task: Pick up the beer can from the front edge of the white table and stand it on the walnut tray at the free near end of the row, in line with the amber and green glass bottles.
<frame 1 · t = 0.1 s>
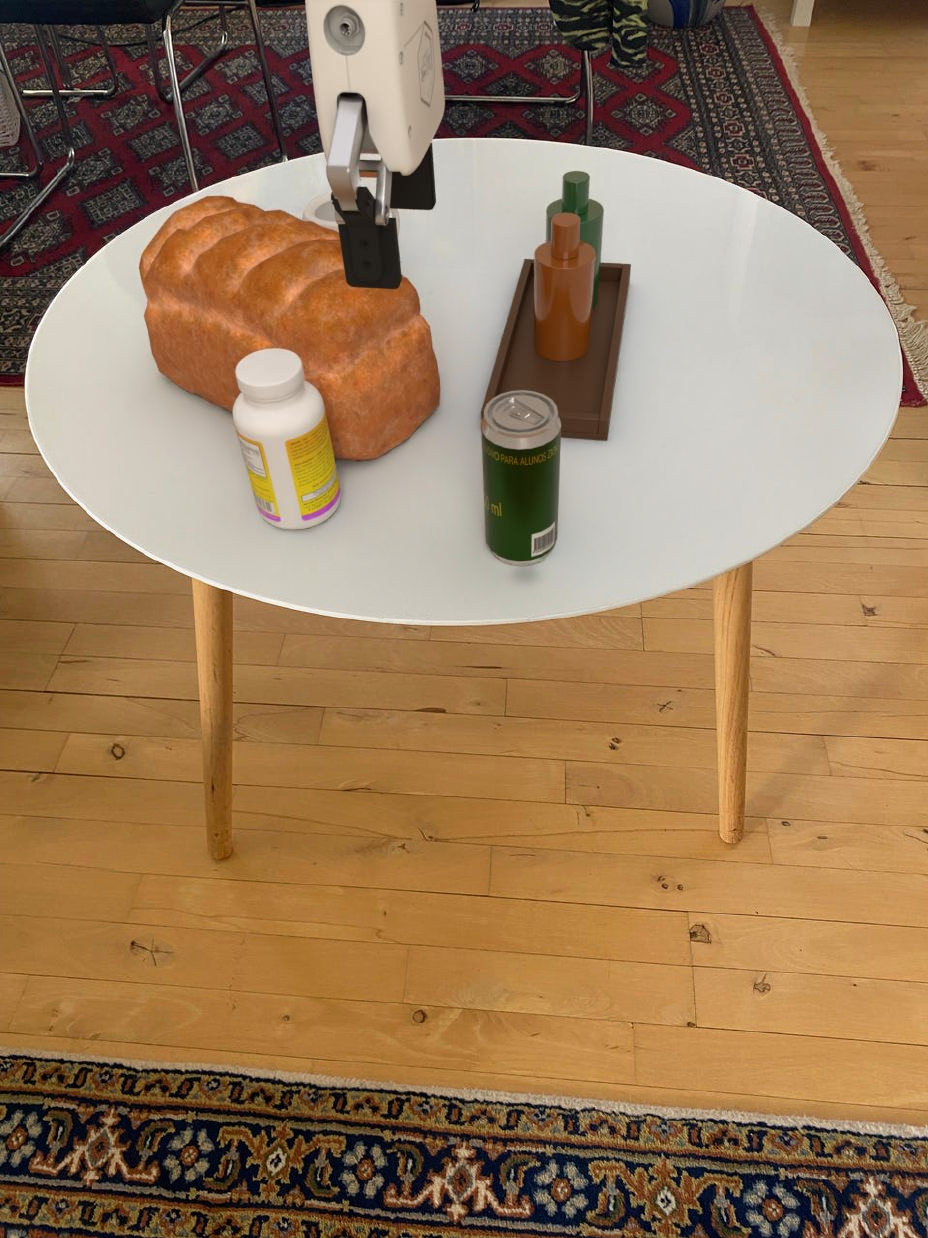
hand: (393, 244, 60), 22 cm above the table, tool pointing down, fingers open, 9 cm apart
tray: (561, 351, 91), on the table
amber bottle: (561, 345, 91), resting on tray
bread: (298, 390, 89), on the table
green bottle: (571, 299, 96), resting on tray
beer can: (521, 545, 74), on the table
supplement bottle: (300, 507, 78), on the table
mug: (364, 275, 103), on the table
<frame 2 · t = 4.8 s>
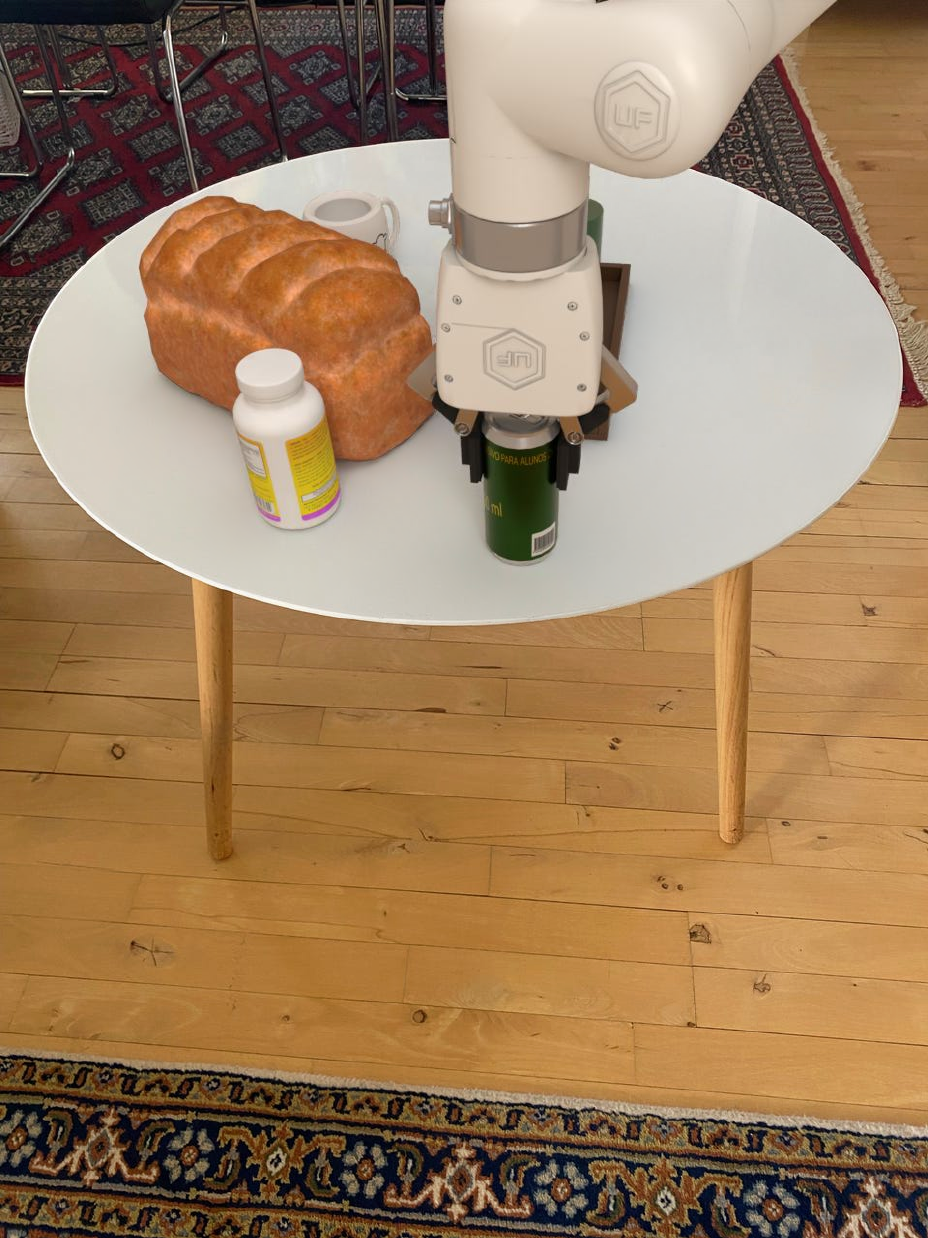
hand: (521, 472, 69), 7 cm above the table, tool pointing down, fingers closed on beer can, 5 cm apart
beer can: (521, 545, 74), on the table, touching gripper
everything else where it was.
when the fingers open (7 cm above the table, at t = 12.4 s): beer can stays where it is, resting on tray.
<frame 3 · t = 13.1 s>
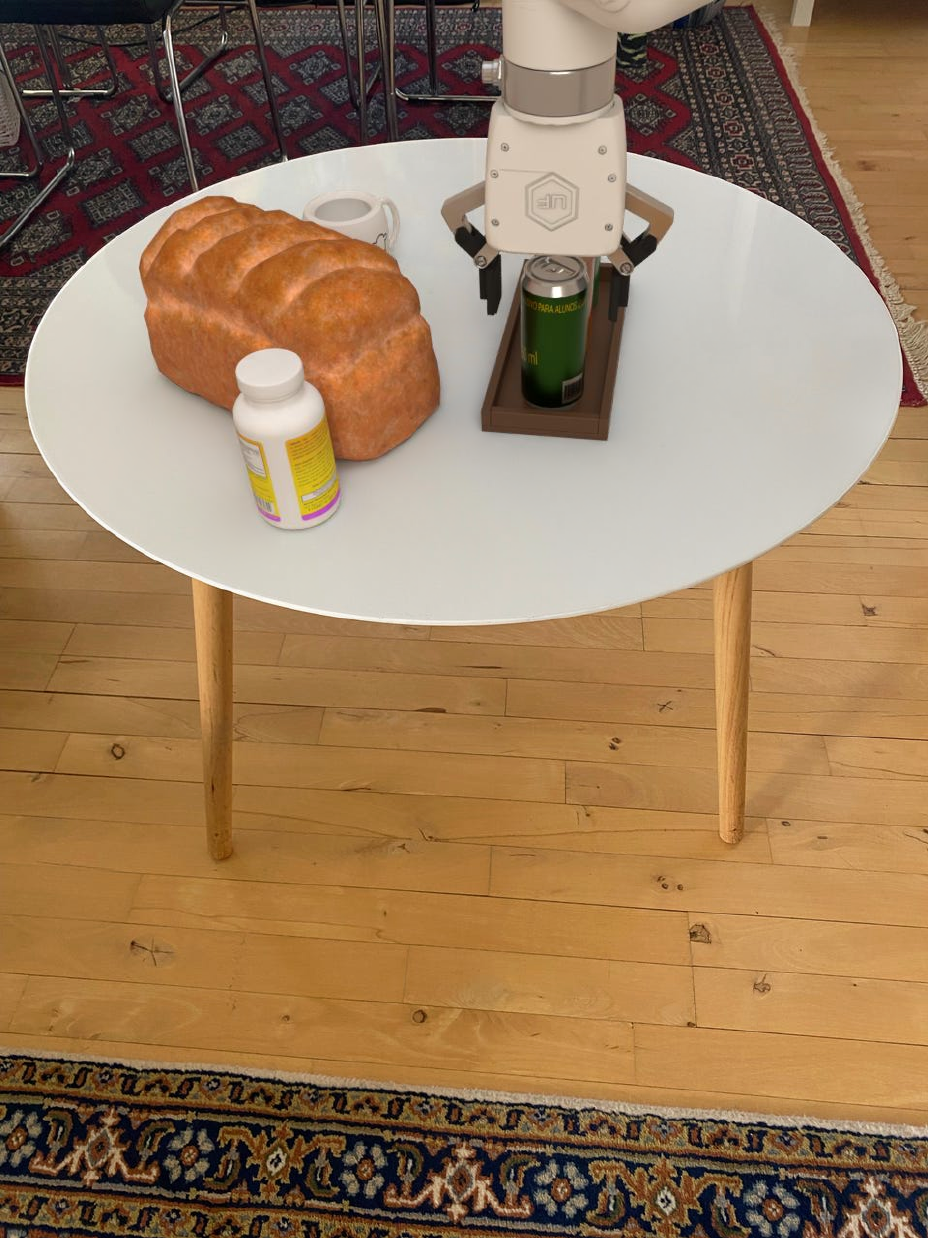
hand: (553, 309, 79), 9 cm above the table, tool pointing down, fingers open, 9 cm apart
beer can: (552, 398, 86), resting on tray
everything else where it was.
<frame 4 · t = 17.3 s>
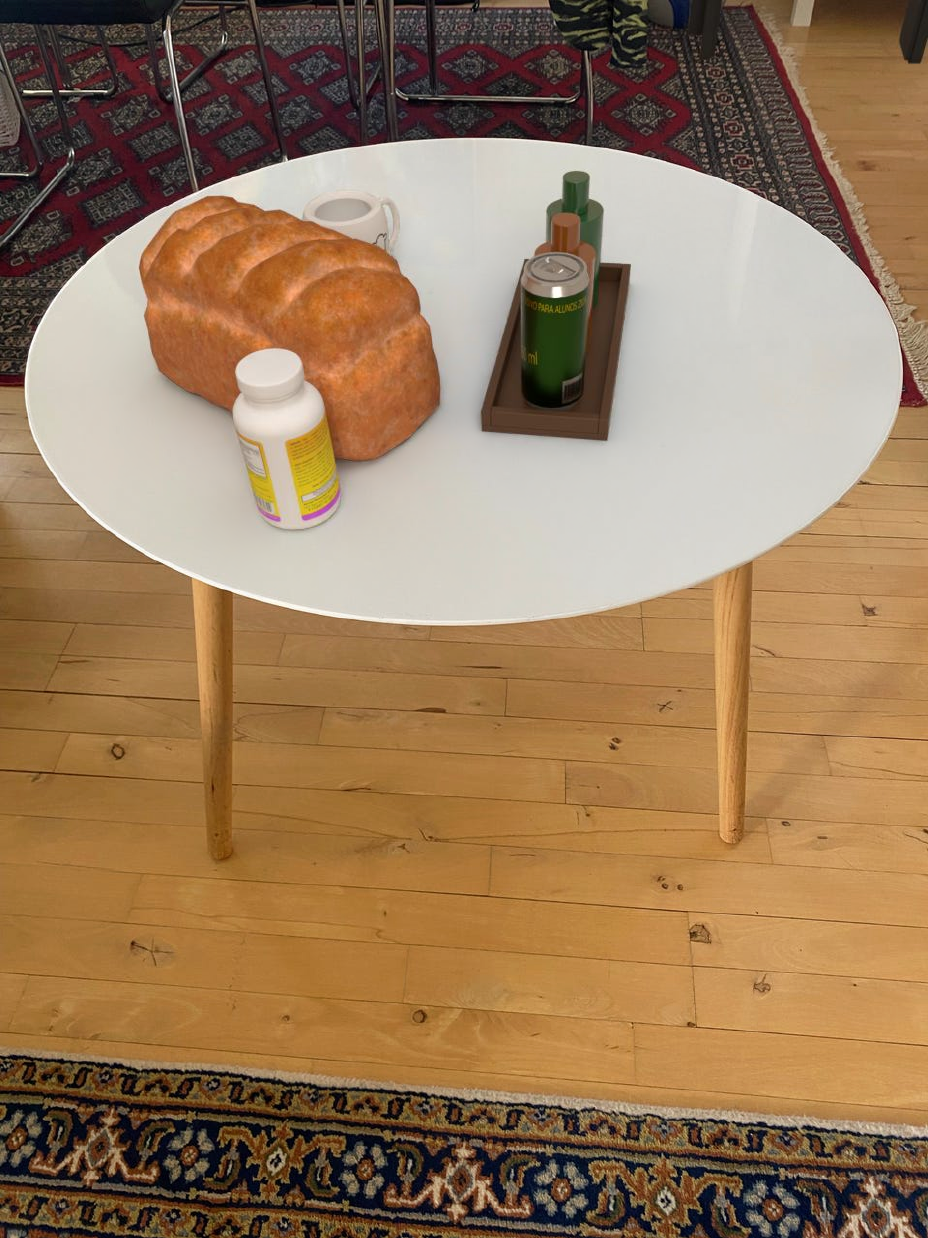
hand: (806, 51, 49), 33 cm above the table, tool pointing down, fingers open, 9 cm apart
nothing on the table moved.
at the end: beer can 0.1 cm from the target spot in the tray, point 0.4 cm above the tray's base; beer can tilted 0°; the gripper is holding nothing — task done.
